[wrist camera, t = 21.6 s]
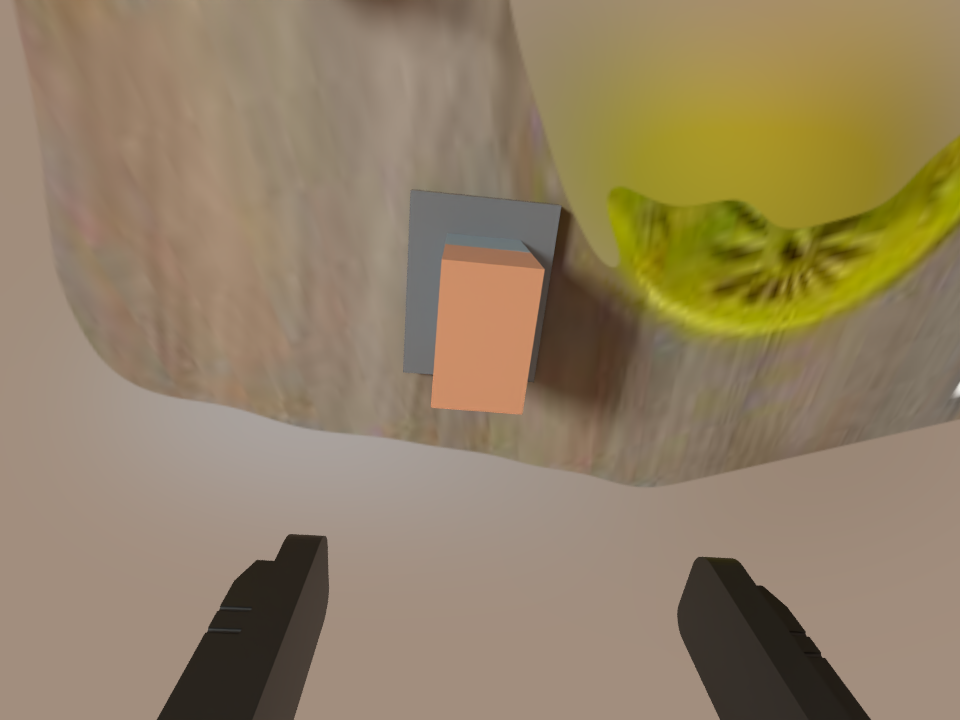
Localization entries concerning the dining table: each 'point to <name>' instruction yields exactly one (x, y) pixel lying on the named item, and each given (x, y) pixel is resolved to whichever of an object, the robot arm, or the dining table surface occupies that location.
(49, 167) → the dining table surface
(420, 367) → the baseplate
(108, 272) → the dining table surface
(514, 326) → the terracotta brick
